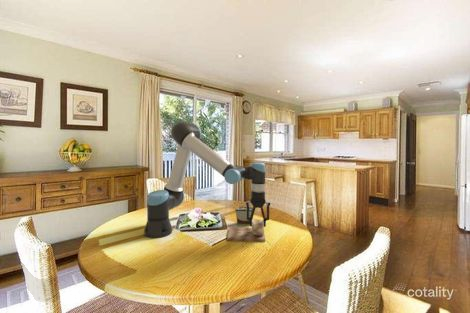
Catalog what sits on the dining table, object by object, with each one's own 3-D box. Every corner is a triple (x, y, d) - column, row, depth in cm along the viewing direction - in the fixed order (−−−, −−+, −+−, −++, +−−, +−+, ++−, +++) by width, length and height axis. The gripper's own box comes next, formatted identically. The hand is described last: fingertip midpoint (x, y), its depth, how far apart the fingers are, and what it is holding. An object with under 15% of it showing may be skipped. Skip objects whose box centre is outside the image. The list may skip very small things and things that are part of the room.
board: (227, 240, 126) (227, 238, 126) (229, 229, 142) (229, 227, 142) (265, 241, 125) (265, 239, 125) (263, 230, 141) (263, 228, 141)
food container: (254, 221, 156) (254, 206, 155) (254, 224, 150) (254, 209, 149) (235, 220, 157) (235, 205, 156) (234, 224, 151) (234, 208, 150)
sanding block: (253, 235, 128) (253, 224, 128) (252, 229, 137) (252, 219, 137) (262, 236, 128) (262, 225, 128) (261, 229, 137) (261, 219, 137)
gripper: (241, 192, 128) (241, 234, 130) (275, 192, 127) (274, 235, 129) (241, 189, 136) (241, 229, 137) (273, 189, 135) (273, 230, 136)
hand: (257, 232), depth 133 cm, fingers closed on sanding block, 5 cm apart
